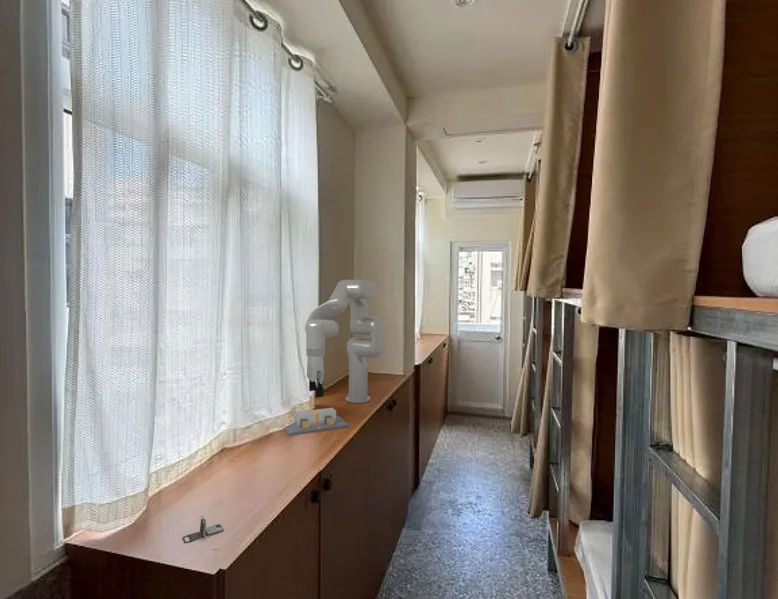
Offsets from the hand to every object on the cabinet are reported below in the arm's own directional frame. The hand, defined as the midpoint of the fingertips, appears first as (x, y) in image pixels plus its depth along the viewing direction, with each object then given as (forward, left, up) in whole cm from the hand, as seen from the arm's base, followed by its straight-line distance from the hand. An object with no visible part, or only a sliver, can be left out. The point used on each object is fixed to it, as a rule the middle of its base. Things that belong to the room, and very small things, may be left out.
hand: (316, 393), depth 170 cm
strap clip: (+62, -43, -14) cm, 77 cm away
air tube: (0, 0, -12) cm, 12 cm away
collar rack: (0, 0, -13) cm, 13 cm away
